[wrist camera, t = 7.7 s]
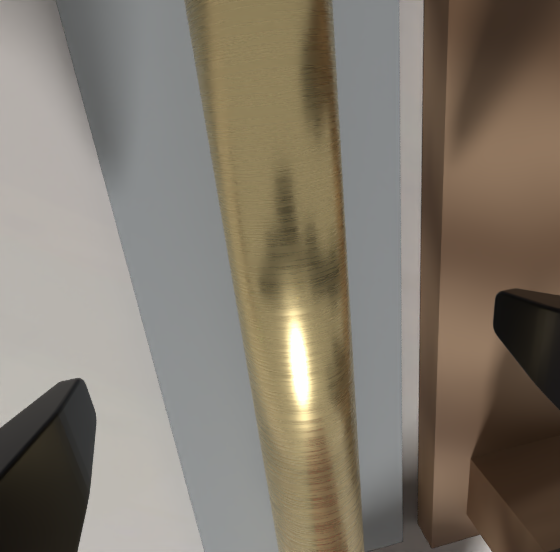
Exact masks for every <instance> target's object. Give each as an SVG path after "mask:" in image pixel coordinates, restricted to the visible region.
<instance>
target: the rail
mask: <svg viewBox="0 0 560 552" xmlns="http://www.w3.org/2000/svg"><path fill="white" fill-rule="evenodd" d="M184 2H185V8H186V14H187V19H188V25H189V31H190V37H191V43H192V49H193V54H194V60H195V66H196V72H197V78H198V84H199V89H200V95H201V101H202V107H203V113H204V119H205V124H206V130H207V136H208V142H209V148H210V154H211V159H212V165H213V171H214V177H215V183H216V189H217V194H218V200H219V206H220V212H221V218H222V224H223V229H224V235H225V241H226V247H227V253H228V259H229V264H230V270H231V276H232V282H233V288H234V294H235V299H236V305H237V311H238V317H239V323H240V329H241V334H242V340H243V346H244V352H245V358H246V364H247V369H248V375H249V381H250V387H251V393H252V399H253V404H254V410H255V416H256V422H257V428H258V434H259V439H260V445H261V451H262V457H263V463H264V469H265V474H266V480H267V486H268V492H269V498H270V503H271V509H272V515H273V521H274V527H275V533H276V538H277V544H278V550H279V552H364V537H363V520H362V503H361V486H360V468H359V451H358V434H357V417H356V400H355V382H354V365H353V348H352V331H351V313H350V296H349V279H348V262H347V244H346V227H345V210H344V193H343V175H342V158H341V141H340V124H339V106H338V89H337V72H336V55H335V37H334V20H333V3H332V0H184Z"/></svg>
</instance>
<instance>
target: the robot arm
mask: <svg viewBox="0 0 560 552" xmlns="http://www.w3.org/2000/svg"><path fill="white" fill-rule="evenodd" d="M493 329H494V332H495V334H496V335H497V337H498V338H499V339H500V340H501V342H502V343H503V344H504V346H505V347H506V348H507V349H508V351H509V352H510V353H511V354H512V356H513V357H514V358H515V360H516V361H517V362H518V363H519V365H520V366H521V367H522V368H523V370H524V371H525V372H526V374H527V375H528V376H529V377H530V379H531V380H532V381H533V382H534V383H535V385H536V386H537V387H538V388H539V389H540V390H541V391H542V392H543V394H544V395H545V396H546V397H547V398H548V399H549V400H550V401H551V402H552V403H553V404H554V405H555V406H556V407H557V408H558V409H559V410H560V295H554V294H548V293H542V292H536V291H530V290H524V289H518V288H513V289H508V290H503V291H500V292H498V293H497V294H496V297H495V303H494V315H493ZM95 432H96V413H95V409H94V406H93V404H92V401H91V398H90V395H89V392H88V389H87V387H86V384H85V382H84V381H83V380H82V379H81V378H75V379H70V380H65V381H61V382H59V383H57V384H56V385H55V386H54V387H52V388H51V389H50V390H48V391H47V392H46V393H45V394H43V395H42V396H41V397H39V398H38V399H37V400H36V401H34V402H33V403H32V404H30V405H29V406H28V407H27V408H25V409H24V410H23V411H21V412H20V413H19V414H18V415H16V416H15V417H14V418H12V419H11V420H10V421H9V422H7V423H6V424H5V425H4V426H2V427H1V428H0V552H77V551H78V546H79V542H80V537H81V532H82V528H83V523H84V519H85V514H86V509H87V504H88V499H89V494H90V485H91V476H92V465H93V454H94V443H95Z"/></svg>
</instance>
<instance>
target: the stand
mask: <svg viewBox="0 0 560 552" xmlns="http://www.w3.org/2000/svg"><path fill="white" fill-rule="evenodd" d="M513 288H518V289H524V290H530V291H536V292H542V293H548V294H554V295H560V0H424V63H423V141H422V219H421V297H420V375H419V453H418V525H419V527H420V529H421V530H422V532H423V534H424V536H425V538H426V539H427V541H428V543H429V545H430V547H431V548H435V547H439V546H442V545H446V544H449V543H453V542H456V541H460V540H463V539H466V538H470V537H473V536H477V535H481V536H482V538H483V539H484V540H485V542H486V543H487V545H488V546H489V548H490V549H491V551H492V552H560V410H559V409H558V408H557V407H556V406H555V405H554V404H553V403H552V402H551V401H550V400H549V399H548V398H547V397H546V396H545V395H544V394H543V392H542V391H541V390H540V389H539V388H538V387H537V386H536V385H535V383H534V382H533V381H532V380H531V379H530V377H529V376H528V375H527V374H526V372H525V371H524V370H523V368H522V367H521V366H520V365H519V363H518V362H517V361H516V360H515V358H514V357H513V356H512V354H511V353H510V352H509V351H508V349H507V348H506V347H505V346H504V344H503V343H502V342H501V340H500V339H499V338H498V337H497V335H496V334H495V332H494V329H493V315H494V303H495V297H496V294H497V293H498V292H500V291H503V290H508V289H513Z"/></svg>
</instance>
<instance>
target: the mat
mask: <svg viewBox="0 0 560 552" xmlns="http://www.w3.org/2000/svg"><path fill="white" fill-rule="evenodd" d="M56 3H57V7H58V11H59V14H60V18H61V22H62V25H63V29H64V33H65V36H66V40H67V44H68V48H69V51H70V55H71V59H72V62H73V66H74V70H75V74H76V77H77V81H78V85H79V88H80V92H81V96H82V100H83V103H84V107H85V111H86V114H87V118H88V122H89V125H90V129H91V133H92V137H93V140H94V144H95V148H96V151H97V155H98V159H99V163H100V166H101V170H102V174H103V177H104V181H105V185H106V189H107V192H108V196H109V200H110V203H111V207H112V211H113V214H114V218H115V222H116V226H117V229H118V233H119V237H120V240H121V244H122V248H123V252H124V255H125V259H126V263H127V266H128V270H129V274H130V278H131V281H132V285H133V289H134V292H135V296H136V300H137V303H138V307H139V311H140V315H141V318H142V322H143V326H144V329H145V333H146V337H147V341H148V344H149V348H150V352H151V355H152V359H153V363H154V367H155V370H156V374H157V378H158V381H159V385H160V389H161V392H162V396H163V400H164V404H165V407H166V411H167V415H168V418H169V422H170V426H171V430H172V433H173V437H174V441H175V444H176V448H177V452H178V456H179V459H180V463H181V467H182V470H183V474H184V478H185V481H186V485H187V489H188V493H189V496H190V500H191V504H192V507H193V511H194V515H195V519H196V522H197V526H198V530H199V533H200V537H201V541H202V545H203V548H204V552H279V550H278V544H277V538H276V533H275V527H274V521H273V515H272V509H271V503H270V498H269V492H268V486H267V480H266V474H265V469H264V463H263V457H262V451H261V445H260V439H259V434H258V428H257V422H256V416H255V410H254V404H253V399H252V393H251V387H250V381H249V375H248V369H247V364H246V358H245V352H244V346H243V340H242V334H241V329H240V323H239V317H238V311H237V305H236V299H235V294H234V288H233V282H232V276H231V270H230V264H229V259H228V253H227V247H226V241H225V235H224V229H223V224H222V218H221V212H220V206H219V200H218V194H217V189H216V183H215V177H214V171H213V165H212V159H211V154H210V148H209V142H208V136H207V130H206V124H205V119H204V113H203V107H202V101H201V95H200V89H199V84H198V78H197V72H196V66H195V60H194V54H193V49H192V43H191V37H190V31H189V25H188V19H187V14H186V8H185V2H184V0H56ZM332 3H333V20H334V37H335V55H336V72H337V89H338V106H339V124H340V141H341V158H342V175H343V193H344V210H345V227H346V244H347V262H348V279H349V296H350V313H351V331H352V348H353V365H354V382H355V400H356V417H357V434H358V451H359V468H360V486H361V503H362V520H363V537H364V552H369V551H372V550H376V549H379V548H383V547H386V546H390V545H393V544H397V543H400V542H403V513H402V358H401V202H400V47H399V0H332Z"/></svg>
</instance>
